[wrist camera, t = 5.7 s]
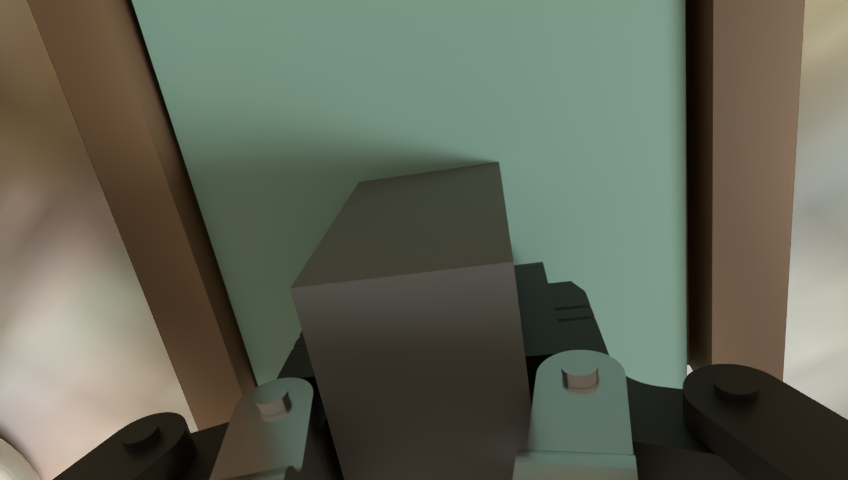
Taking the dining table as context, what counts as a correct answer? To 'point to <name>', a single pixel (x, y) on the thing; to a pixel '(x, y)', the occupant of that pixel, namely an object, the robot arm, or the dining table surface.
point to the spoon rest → (14, 464)
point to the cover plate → (433, 110)
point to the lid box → (705, 186)
